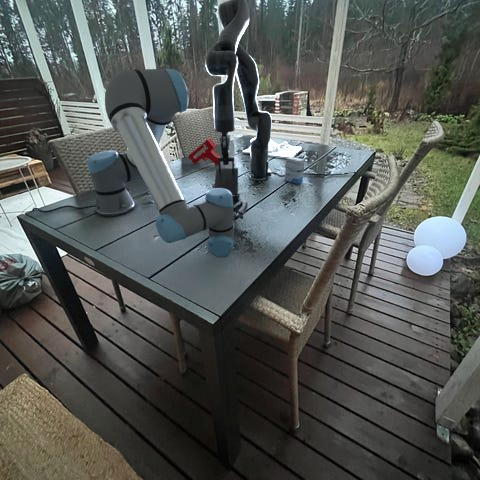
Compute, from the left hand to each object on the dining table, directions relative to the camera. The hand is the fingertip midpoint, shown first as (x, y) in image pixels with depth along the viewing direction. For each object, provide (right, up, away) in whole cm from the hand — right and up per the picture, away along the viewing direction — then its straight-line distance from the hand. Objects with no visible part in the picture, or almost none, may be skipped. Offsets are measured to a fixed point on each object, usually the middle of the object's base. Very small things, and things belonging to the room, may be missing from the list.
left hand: (226, 196), depth 110 cm
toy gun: (-16, +30, +60) cm, 69 cm away
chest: (0, -4, +7) cm, 8 cm away
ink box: (+34, +13, +33) cm, 49 cm away
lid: (0, +6, 0) cm, 6 cm away
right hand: (0, +13, -1) cm, 13 cm away
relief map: (+29, +46, +84) cm, 100 cm away
